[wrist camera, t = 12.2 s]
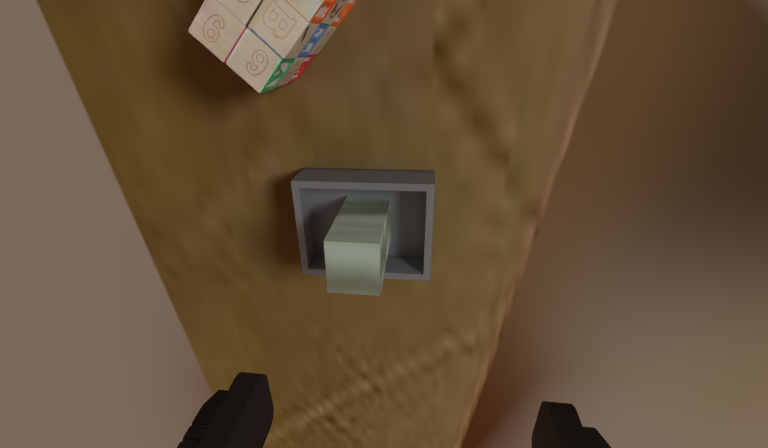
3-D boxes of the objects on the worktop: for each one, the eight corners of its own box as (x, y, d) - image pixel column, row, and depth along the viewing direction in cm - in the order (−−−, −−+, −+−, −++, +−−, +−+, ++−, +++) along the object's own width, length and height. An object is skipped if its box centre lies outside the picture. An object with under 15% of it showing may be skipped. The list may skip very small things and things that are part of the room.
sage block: (347, 195, 39) (323, 241, 30) (390, 196, 38) (379, 244, 29) (349, 237, 41) (327, 292, 32) (390, 239, 41) (379, 295, 32)
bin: (303, 167, 39) (290, 180, 35) (434, 170, 37) (434, 184, 34) (313, 254, 43) (302, 274, 40) (430, 260, 42) (430, 280, 38)
